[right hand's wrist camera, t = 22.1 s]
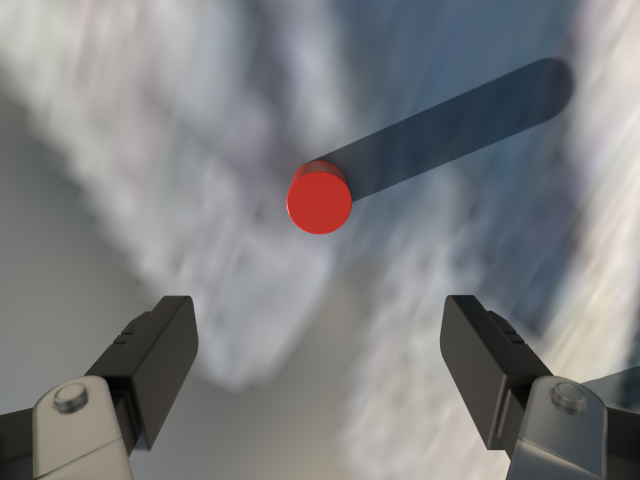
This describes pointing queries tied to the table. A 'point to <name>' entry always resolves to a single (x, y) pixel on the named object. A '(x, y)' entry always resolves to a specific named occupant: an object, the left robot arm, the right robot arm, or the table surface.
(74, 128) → the table surface
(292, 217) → the canister
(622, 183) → the table surface
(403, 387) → the table surface
